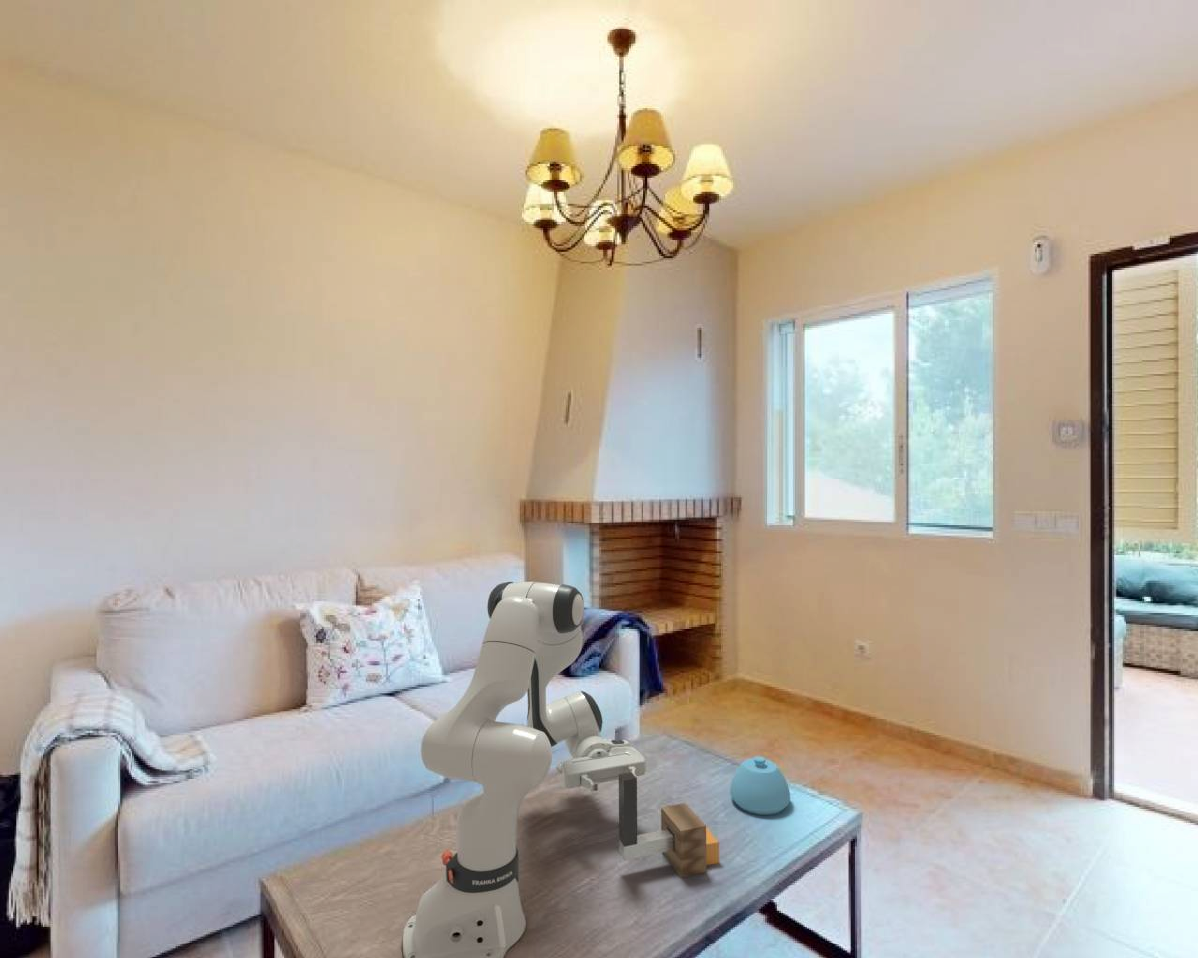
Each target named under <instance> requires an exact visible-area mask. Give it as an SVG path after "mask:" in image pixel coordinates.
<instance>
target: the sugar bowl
mask: <svg viewBox="0 0 1198 958" xmlns="http://www.w3.org/2000/svg"><path fill="white" fill-rule="evenodd" d="M729 789H730V792H729V793H730V794H729V795H730V796H731V798H732V800H733V801H734V803H735V804H736V805H737V806H738V807H739V808H741V810H744V811H745V812H748V813H751V814H755V815H758V816H759V815H761V816H771V815H777V814H778V813H781V812H782V811H783V810H785V809H786V807H787V806H788V805H789V803H790V801H791V793H790V789H789V785H788V782H787V779H786V778H785V776H784V774H783V773H782V771H781V769H780V767H779V766H778V765H777V764H776V763H775V762H774V761H772V760H769V759H766V757H764V756H757V755H756V756H754V757H752V758H751V757H750V758H747V759H745V760H744V761H742V762H741V764H740V765H739V766H738V768H737V770H736V771H735V773H734V774H733V776H732V780H731V782H730V788H729Z"/></svg>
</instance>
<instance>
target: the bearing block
mask: <svg viewBox="0 0 1198 958" xmlns="http://www.w3.org/2000/svg"><path fill="white" fill-rule="evenodd" d="M660 816H661V817H660V821H661V822H660V824H661V825H660V827H661V828H660V830H665V829H670V830H671V832H672V833H673V834H674V835H675V850H671V851H667V852H662V853H661V854H662V855H664V857H665V858H666V860H667V861H668V862H669V864H670V865H671V867H672V868H673V869H674V870H675V872H676V873H677V875H678V876H679V877H680V879H683V878H687V877H691V876H696V875H698V874H699V875H700V874H705V873H707V865H706V827H707V825H706V824H705V823H704V822H703V820H702V819H700V817H699V816H698V815H697V814H696V813H695V812H694V811H693V810H692V808H690V806H689V805H688V804H687V803H686V802H682V803H678V804H672V805H666V806H663V807H661V808H660Z"/></svg>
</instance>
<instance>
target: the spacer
mask: <svg viewBox="0 0 1198 958" xmlns="http://www.w3.org/2000/svg"><path fill="white" fill-rule="evenodd" d="M719 863H720V842H719V840H718V839H717V838H716V837H715V835H714V834H713V832H712V831H711V830H710V829H709V827H708V826H706V866H709V865H710V866H711V865H715V864H719Z"/></svg>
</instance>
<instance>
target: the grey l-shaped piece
mask: <svg viewBox="0 0 1198 958" xmlns="http://www.w3.org/2000/svg"><path fill="white" fill-rule="evenodd" d="M636 777H637V776H636ZM636 777H635V776H634V774H633V773H632V772H630V773H624V774H619V780H618V830H619V831H618V854H619V855H620V856H621V858H622V860H623V861H625V862H626V861H630V860H635V859H638V858H639V859H640V858H643V857H648V856H652V855H653V856H654V855H657V854H658V855H659V854H663V853H662V852H667V851H671V850H675V835H674V834H673V833H672V832H671V830H670V829H665V830H661V829H660V830H655V831H651V832H647V833H646V832H645V833H642V834H638V777H637V778H636Z"/></svg>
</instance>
